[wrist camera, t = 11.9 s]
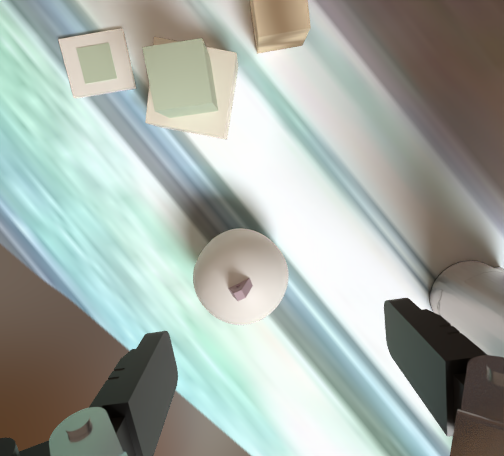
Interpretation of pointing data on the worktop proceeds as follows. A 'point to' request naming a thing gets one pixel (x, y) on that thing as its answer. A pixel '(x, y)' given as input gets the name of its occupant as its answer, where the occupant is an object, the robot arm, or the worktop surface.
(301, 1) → the birch cube
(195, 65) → the sage cube
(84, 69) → the card
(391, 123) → the worktop surface
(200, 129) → the base block
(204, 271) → the ornament
